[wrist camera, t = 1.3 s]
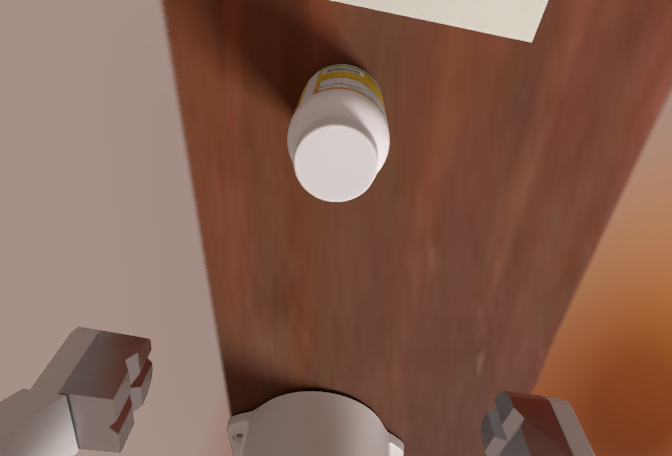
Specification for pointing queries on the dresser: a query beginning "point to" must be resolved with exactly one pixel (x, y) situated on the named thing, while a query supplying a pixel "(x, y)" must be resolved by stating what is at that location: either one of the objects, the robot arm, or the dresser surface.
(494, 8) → the caddy
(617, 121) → the dresser surface
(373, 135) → the supplement bottle
